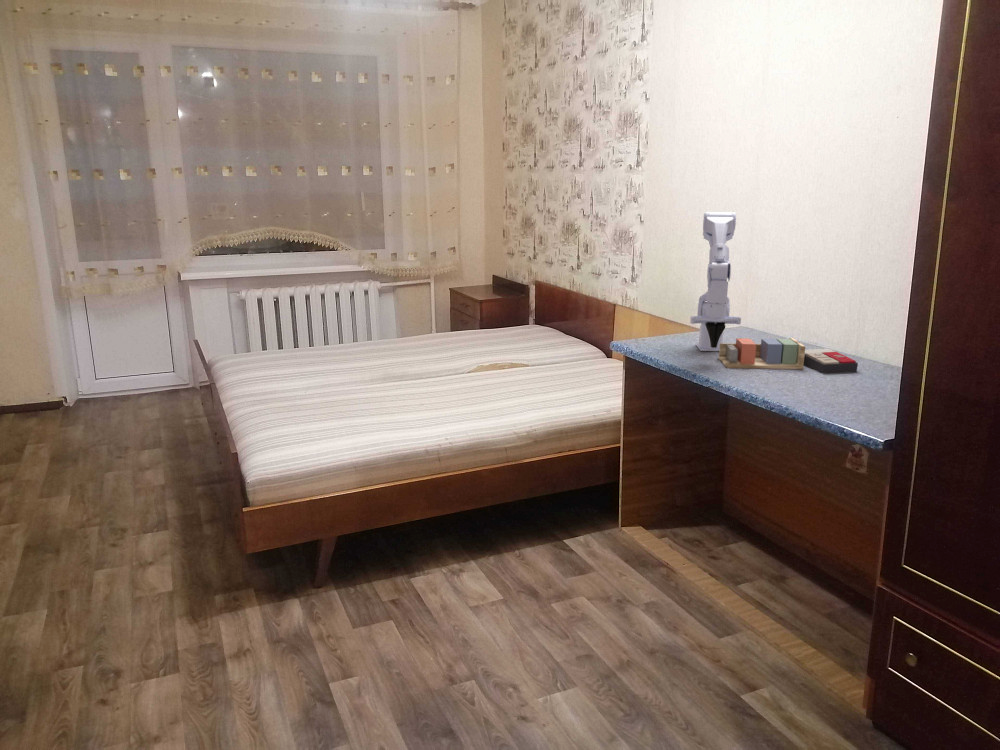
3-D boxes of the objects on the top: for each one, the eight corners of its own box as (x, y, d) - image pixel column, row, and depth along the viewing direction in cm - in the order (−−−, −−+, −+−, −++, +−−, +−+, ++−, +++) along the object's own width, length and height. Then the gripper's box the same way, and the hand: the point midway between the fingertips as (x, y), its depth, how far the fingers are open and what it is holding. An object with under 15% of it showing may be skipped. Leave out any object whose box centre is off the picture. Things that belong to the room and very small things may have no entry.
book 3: (774, 357, 232) (776, 338, 230) (788, 357, 232) (789, 338, 230) (782, 364, 224) (784, 344, 223) (795, 364, 224) (797, 344, 222)
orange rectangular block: (734, 357, 233) (736, 338, 231) (748, 357, 232) (749, 338, 231) (740, 363, 225) (742, 344, 223) (754, 363, 225) (756, 344, 223)
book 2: (759, 357, 232) (761, 338, 231) (773, 357, 232) (774, 338, 230) (766, 363, 225) (768, 344, 223) (780, 364, 224) (782, 344, 223)
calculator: (824, 362, 216) (796, 348, 230) (822, 376, 217) (794, 361, 231) (859, 360, 218) (829, 346, 232) (856, 374, 219) (827, 360, 233)
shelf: (718, 358, 235) (720, 337, 233) (791, 359, 233) (793, 337, 231) (727, 367, 223) (728, 345, 221) (803, 369, 222) (805, 346, 220)
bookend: (725, 357, 233) (726, 344, 232) (731, 357, 232) (732, 344, 231) (730, 362, 226) (731, 349, 225) (736, 362, 226) (737, 349, 225)
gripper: (694, 304, 222) (691, 349, 225) (744, 305, 221) (741, 350, 224) (690, 300, 228) (687, 344, 232) (739, 301, 227) (735, 345, 231)
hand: (713, 347), depth 228 cm, fingers closed
